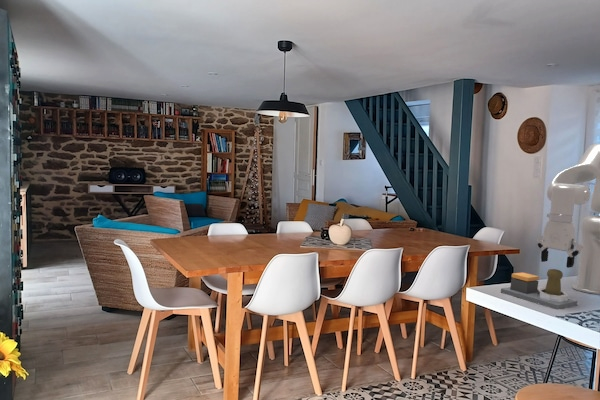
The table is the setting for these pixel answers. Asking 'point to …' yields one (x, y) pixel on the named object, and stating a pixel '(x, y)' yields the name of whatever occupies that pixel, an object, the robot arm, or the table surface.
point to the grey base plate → (532, 293)
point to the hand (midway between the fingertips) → (556, 264)
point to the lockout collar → (552, 296)
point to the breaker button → (525, 276)
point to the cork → (554, 282)
